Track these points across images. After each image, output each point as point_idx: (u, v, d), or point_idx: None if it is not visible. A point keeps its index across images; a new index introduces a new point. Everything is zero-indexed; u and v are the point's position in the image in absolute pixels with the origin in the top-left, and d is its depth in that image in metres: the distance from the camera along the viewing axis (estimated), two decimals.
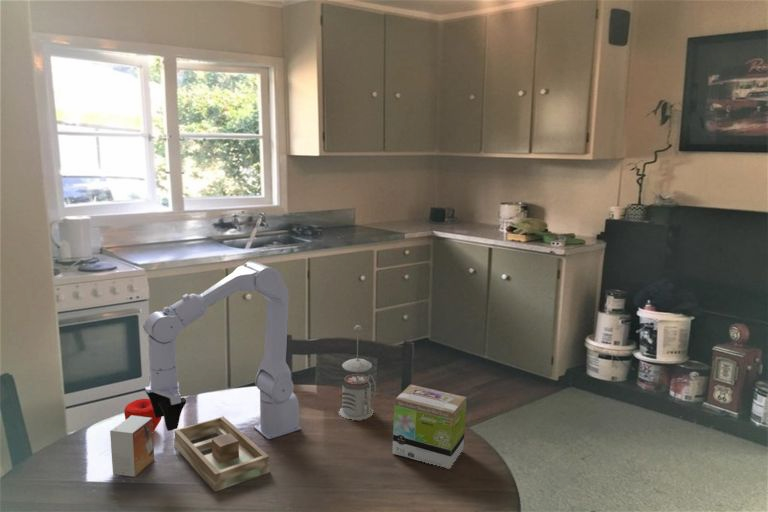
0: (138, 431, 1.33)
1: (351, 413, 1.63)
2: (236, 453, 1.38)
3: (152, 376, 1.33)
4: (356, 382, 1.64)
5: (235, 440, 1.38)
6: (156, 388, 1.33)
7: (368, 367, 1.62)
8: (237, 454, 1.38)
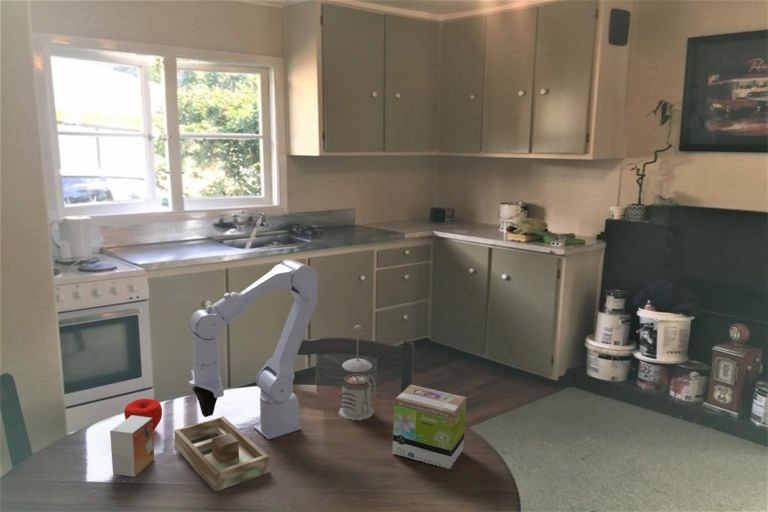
0: (138, 431, 1.33)
1: (351, 413, 1.63)
2: (236, 453, 1.38)
3: (196, 371, 1.40)
4: (356, 382, 1.64)
5: (235, 440, 1.38)
6: (200, 382, 1.41)
7: (368, 367, 1.62)
8: (237, 454, 1.38)
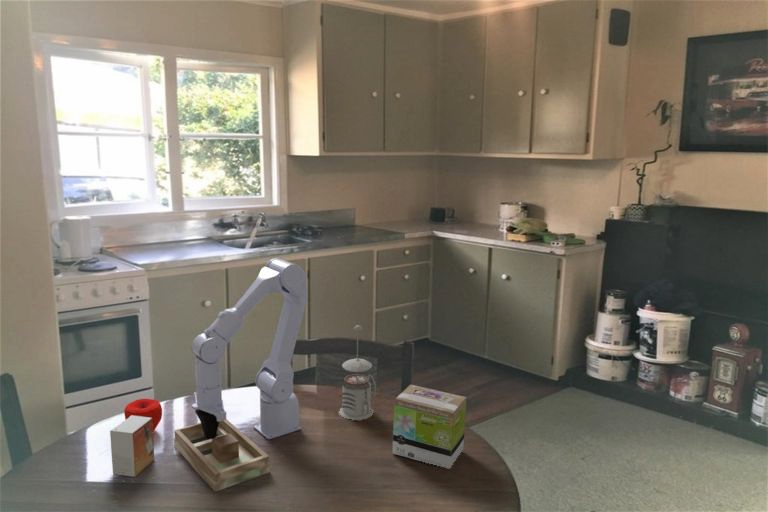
0: (138, 431, 1.33)
1: (351, 413, 1.63)
2: (236, 453, 1.38)
3: (199, 394, 1.41)
4: (356, 382, 1.64)
5: (235, 440, 1.38)
6: (202, 405, 1.41)
7: (368, 367, 1.62)
8: (237, 454, 1.38)
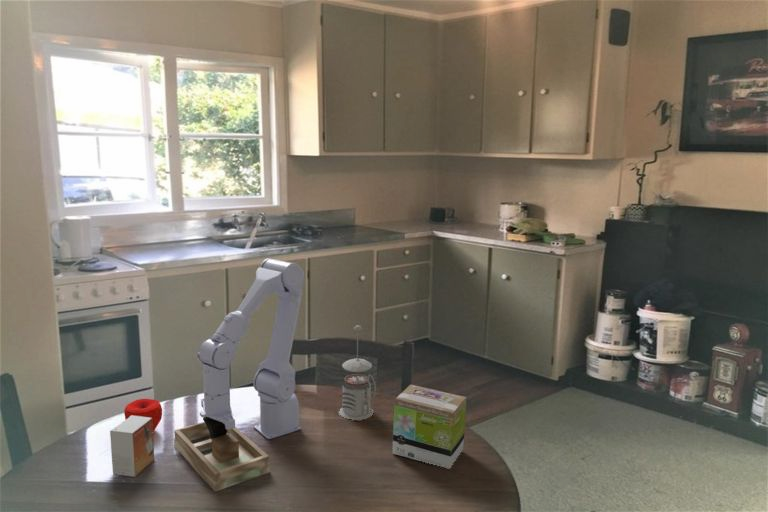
0: (138, 431, 1.33)
1: (351, 413, 1.63)
2: (236, 453, 1.38)
3: (207, 401, 1.37)
4: (356, 382, 1.64)
5: (235, 440, 1.38)
6: (210, 413, 1.37)
7: (368, 367, 1.62)
8: (237, 454, 1.38)
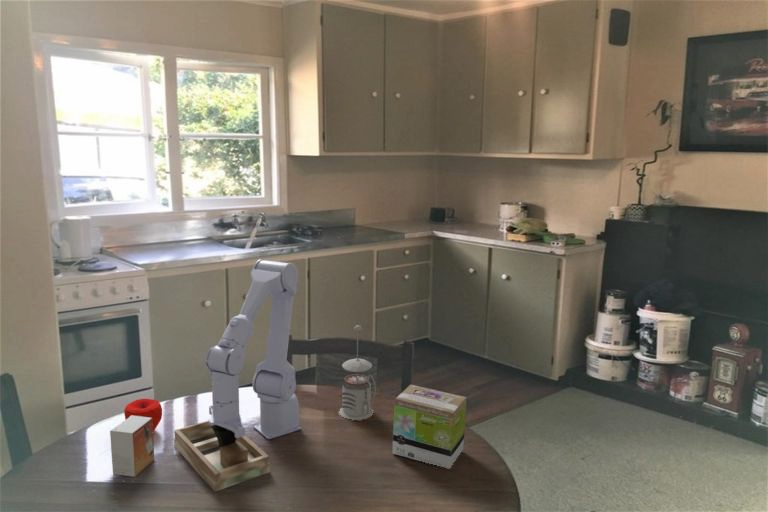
0: (138, 431, 1.33)
1: (351, 413, 1.63)
2: None
3: (215, 409, 1.34)
4: (356, 382, 1.64)
5: (244, 449, 1.35)
6: (219, 421, 1.34)
7: (368, 367, 1.62)
8: None
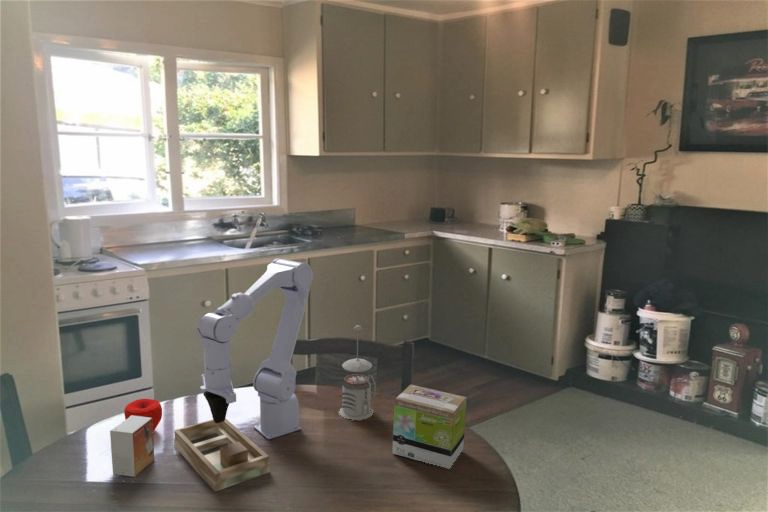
0: (138, 431, 1.33)
1: (351, 413, 1.63)
2: None
3: (207, 375, 1.35)
4: (356, 382, 1.64)
5: (244, 449, 1.35)
6: (211, 387, 1.35)
7: (368, 367, 1.62)
8: None
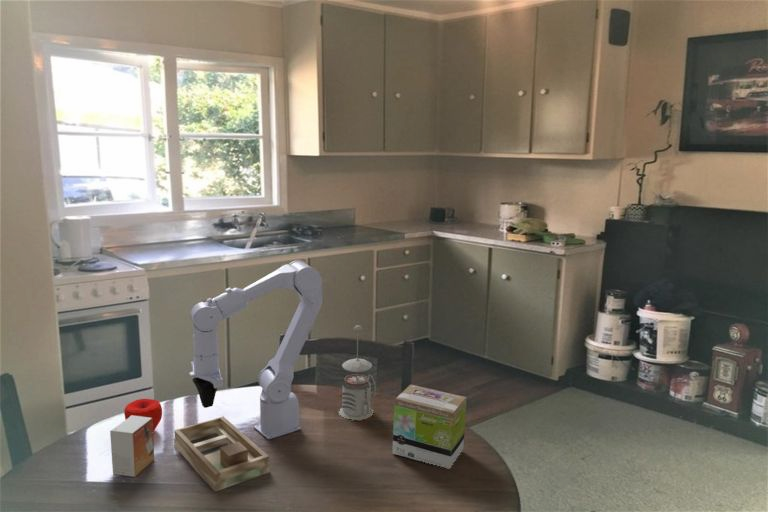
0: (138, 431, 1.33)
1: (351, 413, 1.63)
2: None
3: (196, 362, 1.43)
4: (356, 382, 1.64)
5: (244, 449, 1.35)
6: (199, 373, 1.43)
7: (368, 367, 1.62)
8: None
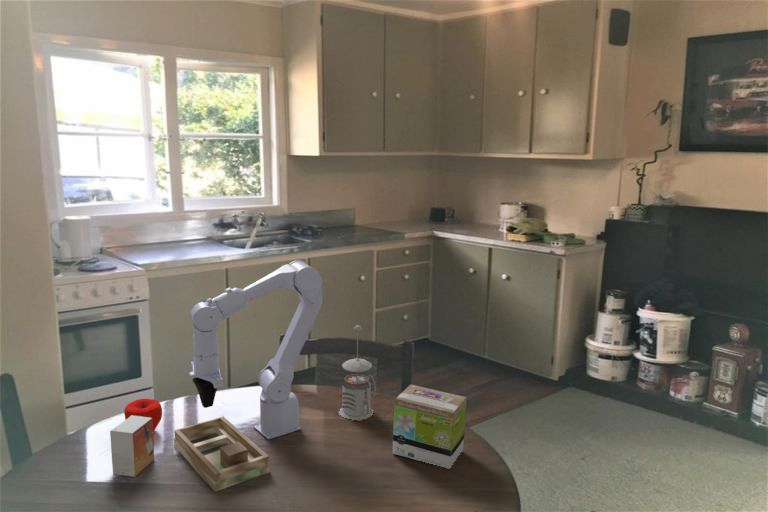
0: (138, 431, 1.33)
1: (351, 413, 1.63)
2: None
3: (196, 362, 1.43)
4: (356, 382, 1.64)
5: (244, 449, 1.35)
6: (199, 373, 1.43)
7: (368, 367, 1.62)
8: None
